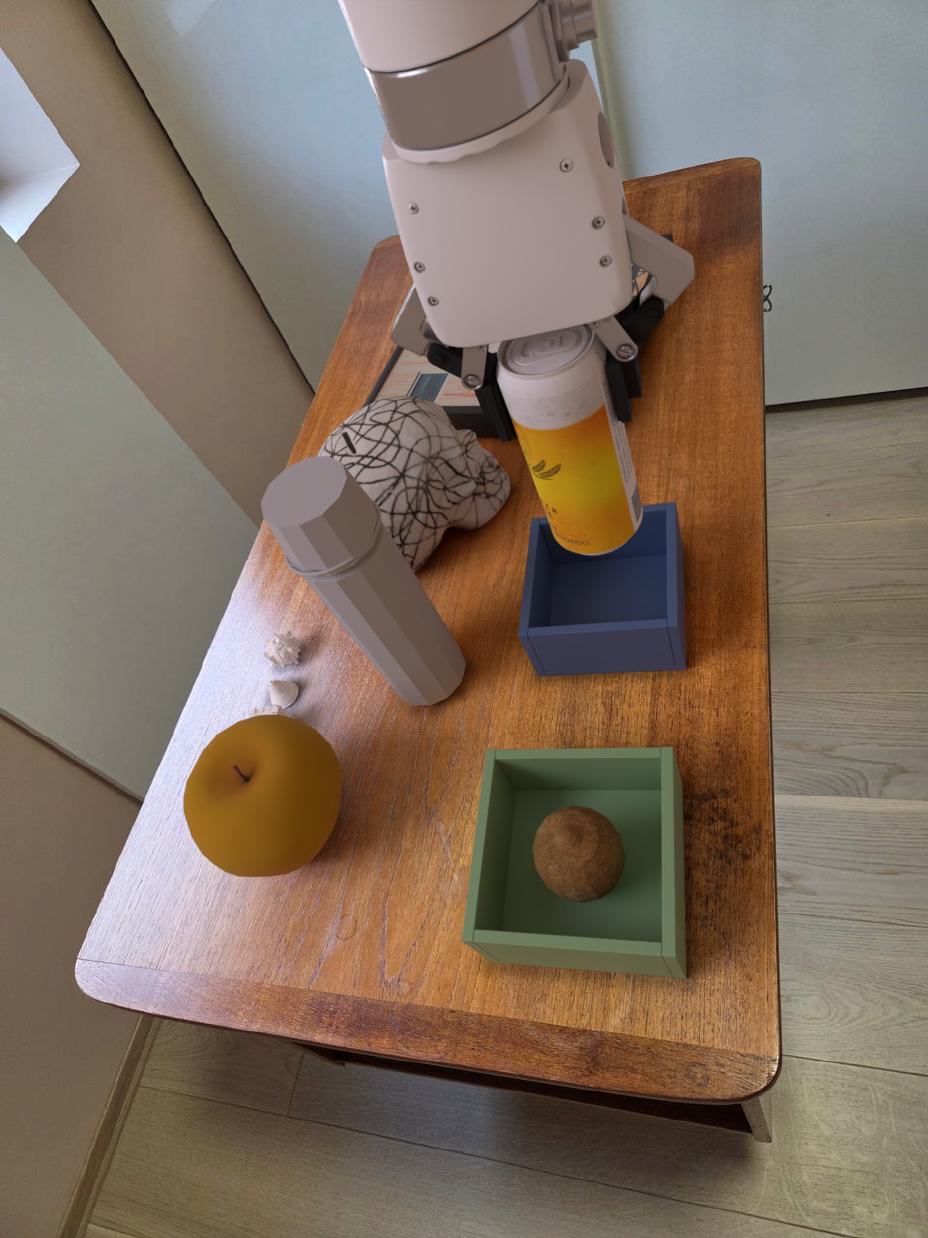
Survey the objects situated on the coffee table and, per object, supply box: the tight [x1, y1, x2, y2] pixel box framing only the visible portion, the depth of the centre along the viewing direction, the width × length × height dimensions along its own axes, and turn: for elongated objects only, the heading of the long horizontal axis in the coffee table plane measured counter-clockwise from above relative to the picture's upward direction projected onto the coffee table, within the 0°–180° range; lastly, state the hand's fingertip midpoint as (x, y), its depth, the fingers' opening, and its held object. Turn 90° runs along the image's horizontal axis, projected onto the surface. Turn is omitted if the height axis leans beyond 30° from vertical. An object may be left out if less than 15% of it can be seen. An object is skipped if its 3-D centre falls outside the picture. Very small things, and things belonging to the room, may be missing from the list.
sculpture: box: [315, 396, 512, 574], centre depth 77 cm, size 15×20×15 cm
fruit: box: [533, 805, 625, 903], centre depth 53 cm, size 6×6×8 cm
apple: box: [182, 714, 344, 878], centre depth 63 cm, size 13×13×11 cm
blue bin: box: [517, 501, 688, 677], centre depth 67 cm, size 13×13×7 cm
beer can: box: [496, 323, 643, 555], centre depth 46 cm, size 6×6×15 cm
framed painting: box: [360, 233, 674, 440], centre depth 93 cm, size 30×4×30 cm
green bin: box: [461, 746, 687, 979], centre depth 54 cm, size 14×14×7 cm
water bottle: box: [260, 456, 467, 707], centre depth 63 cm, size 9×8×25 cm
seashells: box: [248, 629, 302, 718], centre depth 75 cm, size 12×3×3 cm, turn 0°
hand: (566, 413), depth 45 cm, fingers closed on beer can, 6 cm apart
